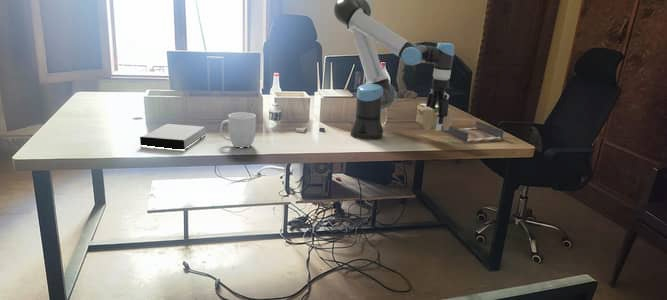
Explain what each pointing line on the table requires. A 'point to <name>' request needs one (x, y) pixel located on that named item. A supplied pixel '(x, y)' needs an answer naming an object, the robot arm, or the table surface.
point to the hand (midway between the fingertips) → (433, 128)
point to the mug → (240, 128)
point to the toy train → (432, 118)
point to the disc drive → (173, 136)
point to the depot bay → (475, 133)
